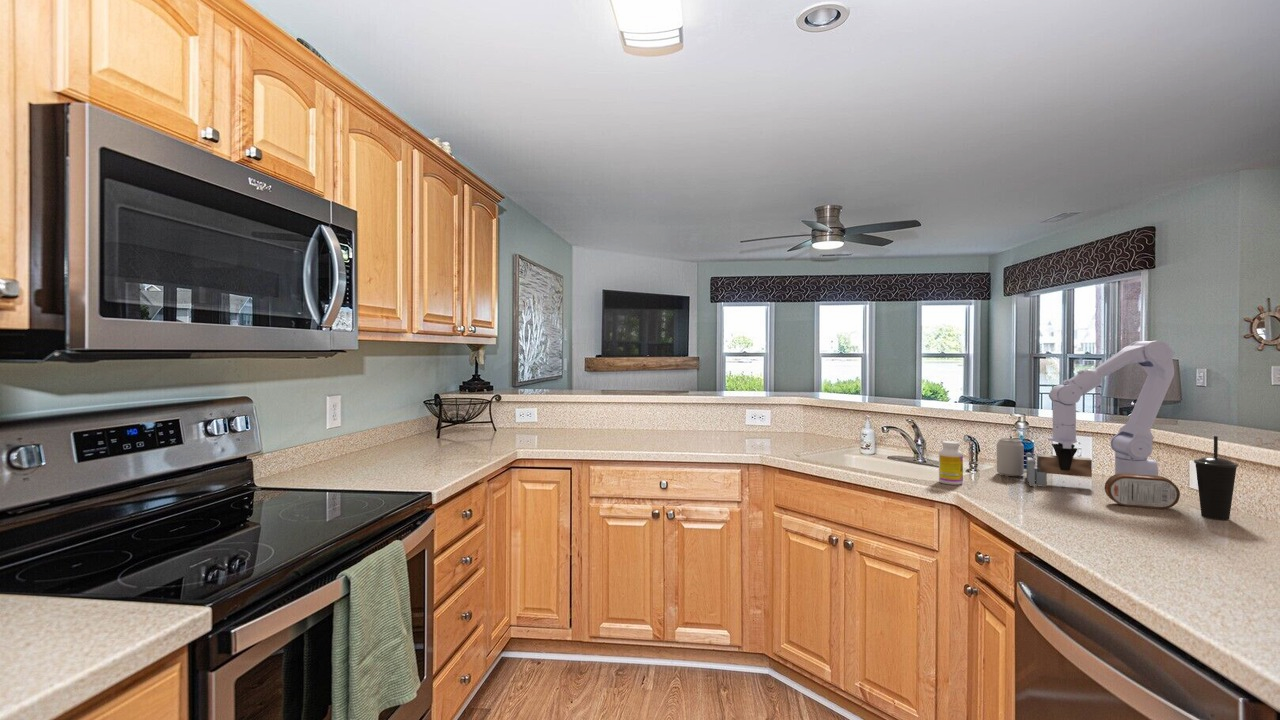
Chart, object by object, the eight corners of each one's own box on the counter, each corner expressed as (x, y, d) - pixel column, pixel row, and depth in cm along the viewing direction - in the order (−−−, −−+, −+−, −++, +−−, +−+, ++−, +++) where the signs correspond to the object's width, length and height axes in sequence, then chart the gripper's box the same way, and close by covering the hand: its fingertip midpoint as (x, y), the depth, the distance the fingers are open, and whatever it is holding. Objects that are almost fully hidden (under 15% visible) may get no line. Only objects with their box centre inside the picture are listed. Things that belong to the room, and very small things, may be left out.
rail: (1089, 474, 171) (1089, 457, 171) (1091, 477, 168) (1091, 460, 167) (1037, 470, 178) (1037, 454, 178) (1038, 472, 174) (1038, 456, 174)
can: (1029, 477, 183) (1029, 440, 183) (1005, 477, 184) (1005, 440, 183) (1014, 472, 191) (1014, 437, 191) (991, 472, 191) (991, 437, 191)
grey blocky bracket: (1042, 478, 181) (1042, 453, 181) (1047, 488, 169) (1047, 460, 169) (1025, 477, 184) (1025, 451, 183) (1028, 486, 171) (1028, 459, 171)
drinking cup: (1230, 524, 134) (1231, 439, 133) (1187, 515, 140) (1188, 435, 140) (1243, 519, 137) (1243, 437, 137) (1201, 511, 144) (1201, 433, 144)
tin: (1176, 508, 147) (1176, 476, 147) (1181, 511, 144) (1182, 478, 144) (1104, 502, 153) (1104, 471, 153) (1107, 505, 151) (1107, 474, 150)
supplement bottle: (964, 486, 173) (964, 444, 173) (940, 484, 176) (940, 443, 175) (961, 481, 179) (960, 441, 179) (937, 479, 182) (937, 440, 182)
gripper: (1045, 420, 181) (1045, 463, 181) (1050, 426, 168) (1050, 471, 168) (1073, 422, 177) (1073, 465, 177) (1080, 427, 165) (1080, 474, 165)
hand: (1064, 468), depth 173 cm, fingers closed on rail, 4 cm apart
